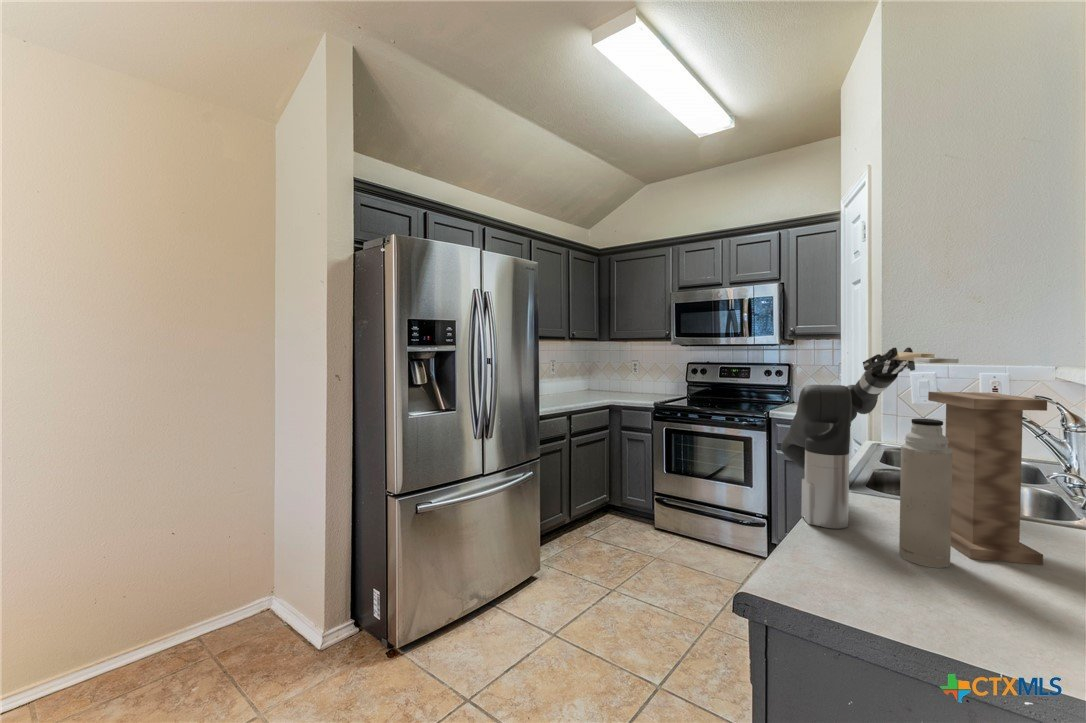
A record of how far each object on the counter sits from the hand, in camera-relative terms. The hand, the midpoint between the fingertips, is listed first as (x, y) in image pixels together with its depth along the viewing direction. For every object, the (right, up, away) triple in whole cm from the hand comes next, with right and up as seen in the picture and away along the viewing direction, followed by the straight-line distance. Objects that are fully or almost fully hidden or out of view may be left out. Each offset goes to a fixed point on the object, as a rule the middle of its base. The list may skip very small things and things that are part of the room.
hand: (902, 350), depth 133 cm
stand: (-7, -42, -31) cm, 53 cm away
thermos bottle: (-24, -43, -38) cm, 62 cm away
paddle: (-2, -3, -7) cm, 7 cm away
